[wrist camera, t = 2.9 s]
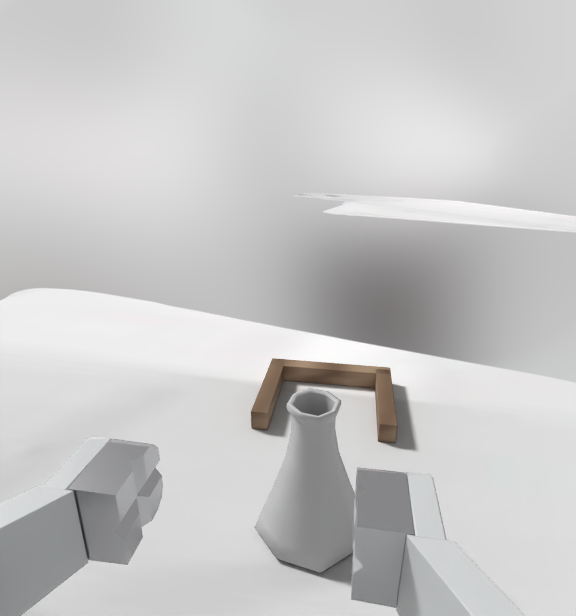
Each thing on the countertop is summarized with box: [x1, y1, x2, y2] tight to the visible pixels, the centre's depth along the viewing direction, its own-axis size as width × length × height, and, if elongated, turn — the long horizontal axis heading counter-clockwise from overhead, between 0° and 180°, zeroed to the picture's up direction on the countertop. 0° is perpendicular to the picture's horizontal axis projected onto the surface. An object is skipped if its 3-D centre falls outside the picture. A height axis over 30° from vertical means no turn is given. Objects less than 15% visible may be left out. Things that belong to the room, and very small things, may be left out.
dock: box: [251, 359, 397, 443], centre depth 44 cm, size 13×10×2 cm
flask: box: [255, 388, 355, 573], centre depth 29 cm, size 7×7×10 cm
